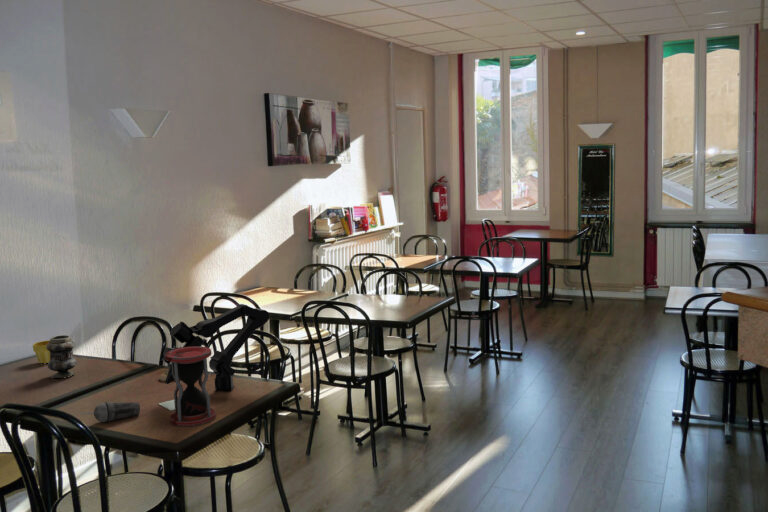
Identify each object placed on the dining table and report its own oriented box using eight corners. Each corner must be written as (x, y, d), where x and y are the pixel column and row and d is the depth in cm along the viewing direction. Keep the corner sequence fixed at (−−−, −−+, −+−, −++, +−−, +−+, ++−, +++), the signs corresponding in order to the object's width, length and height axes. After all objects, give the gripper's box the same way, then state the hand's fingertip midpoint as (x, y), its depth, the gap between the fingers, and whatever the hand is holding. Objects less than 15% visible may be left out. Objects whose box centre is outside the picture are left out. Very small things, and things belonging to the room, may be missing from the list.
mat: (184, 397, 285) (184, 396, 285) (197, 403, 276) (197, 402, 276) (158, 404, 277) (158, 403, 277) (171, 410, 269) (171, 410, 269)
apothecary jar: (83, 374, 324) (79, 335, 321) (59, 381, 314) (55, 341, 311) (67, 370, 330) (63, 332, 328) (43, 377, 320) (39, 338, 318)
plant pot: (29, 365, 342) (27, 345, 341) (43, 359, 352) (41, 340, 351) (49, 365, 340) (47, 345, 339) (62, 359, 351) (60, 340, 349)
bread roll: (176, 372, 320) (175, 362, 318) (191, 380, 313) (190, 369, 312) (154, 380, 311) (153, 369, 310) (169, 387, 305) (168, 377, 303)
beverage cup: (140, 421, 264) (82, 428, 253) (134, 413, 270) (78, 420, 259) (141, 403, 263) (83, 409, 251) (136, 395, 269) (79, 401, 257)
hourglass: (189, 409, 270) (184, 344, 267) (224, 413, 264) (220, 347, 261) (160, 424, 255) (155, 356, 252) (197, 429, 249) (192, 359, 246)
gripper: (164, 334, 284) (140, 368, 278) (186, 342, 270) (161, 377, 265) (184, 349, 291) (161, 382, 285) (207, 357, 277) (183, 392, 271)
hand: (166, 383), depth 276 cm, fingers closed
